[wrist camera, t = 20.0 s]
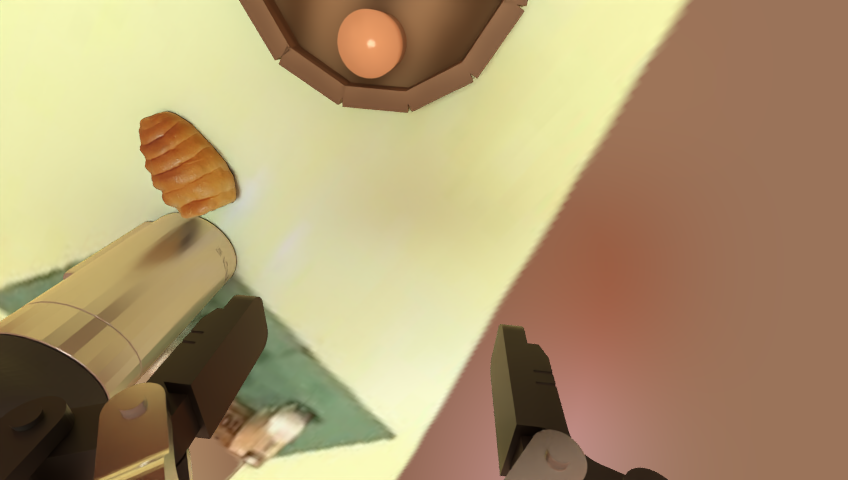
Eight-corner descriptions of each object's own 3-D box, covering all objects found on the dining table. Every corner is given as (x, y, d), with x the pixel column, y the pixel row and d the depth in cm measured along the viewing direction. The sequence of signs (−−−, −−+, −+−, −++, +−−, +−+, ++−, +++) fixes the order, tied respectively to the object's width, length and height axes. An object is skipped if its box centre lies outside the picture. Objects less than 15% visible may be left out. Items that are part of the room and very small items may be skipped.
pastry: (133, 124, 34) (98, 135, 31) (192, 98, 33) (162, 106, 29) (196, 213, 38) (171, 231, 35) (251, 194, 37) (231, 210, 33)
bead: (354, 68, 29) (338, 75, 25) (353, 8, 27) (336, 6, 23) (405, 73, 29) (397, 81, 25) (408, 13, 27) (399, 11, 23)
